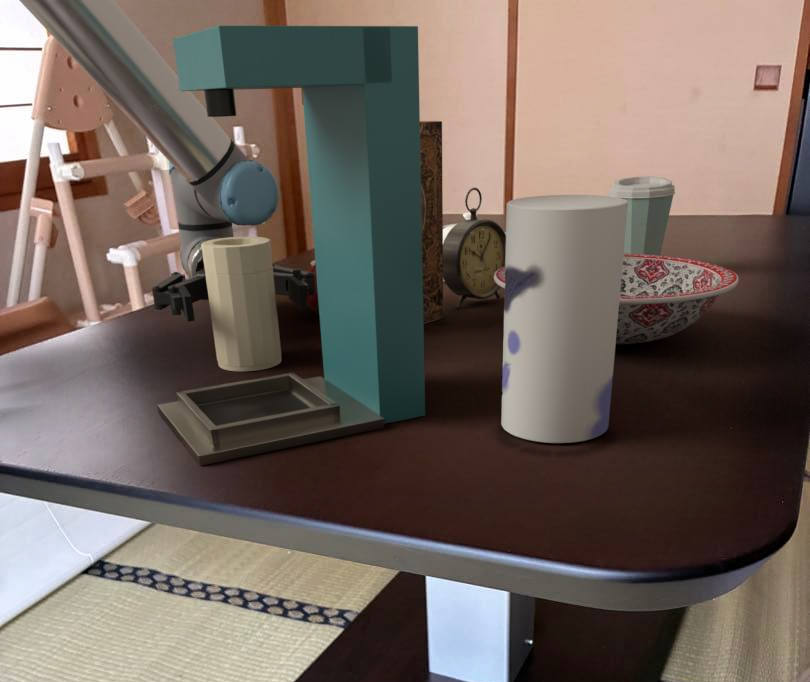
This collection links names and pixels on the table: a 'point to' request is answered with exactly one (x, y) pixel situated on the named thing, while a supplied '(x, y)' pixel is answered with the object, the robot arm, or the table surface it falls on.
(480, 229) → the alarm clock
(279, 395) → the coffee station
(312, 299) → the onion
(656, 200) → the disposable coffee cup
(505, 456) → the table surface
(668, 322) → the ceramic bowl
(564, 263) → the container
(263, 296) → the cream faceted cup
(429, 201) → the book
